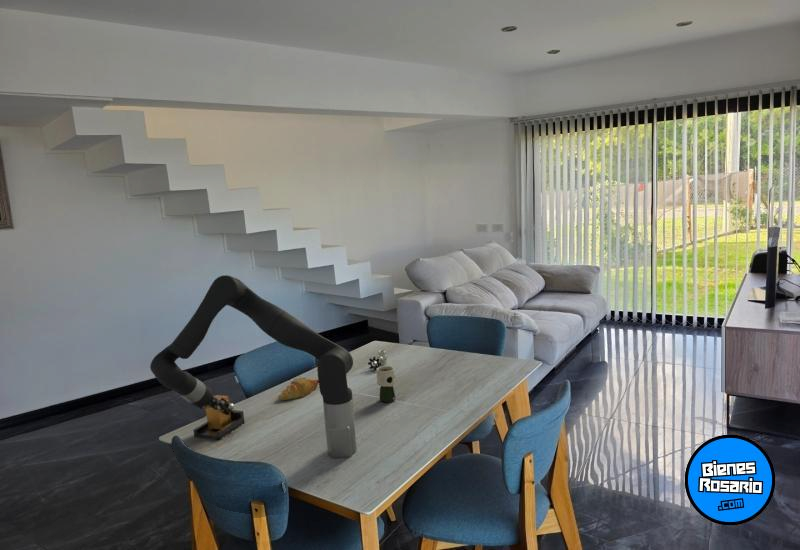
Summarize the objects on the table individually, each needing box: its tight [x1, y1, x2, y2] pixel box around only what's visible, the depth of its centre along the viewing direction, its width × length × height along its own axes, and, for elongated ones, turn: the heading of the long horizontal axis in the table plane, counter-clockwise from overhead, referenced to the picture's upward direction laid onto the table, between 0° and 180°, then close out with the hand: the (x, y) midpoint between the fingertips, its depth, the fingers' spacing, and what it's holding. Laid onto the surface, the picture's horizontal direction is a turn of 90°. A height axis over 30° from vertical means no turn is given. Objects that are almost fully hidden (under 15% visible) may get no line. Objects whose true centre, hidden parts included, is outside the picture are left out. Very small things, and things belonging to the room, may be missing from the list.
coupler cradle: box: [193, 402, 245, 441], centre depth 197 cm, size 15×11×7 cm
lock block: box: [205, 394, 231, 429], centre depth 196 cm, size 6×6×10 cm
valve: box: [367, 349, 388, 372], centre depth 258 cm, size 7×7×12 cm
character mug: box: [376, 365, 396, 403], centre depth 214 cm, size 11×7×13 cm, turn 147°
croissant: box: [277, 377, 319, 401], centre depth 228 cm, size 21×10×8 cm, turn 141°
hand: (221, 411), depth 198 cm, fingers closed on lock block, 5 cm apart
